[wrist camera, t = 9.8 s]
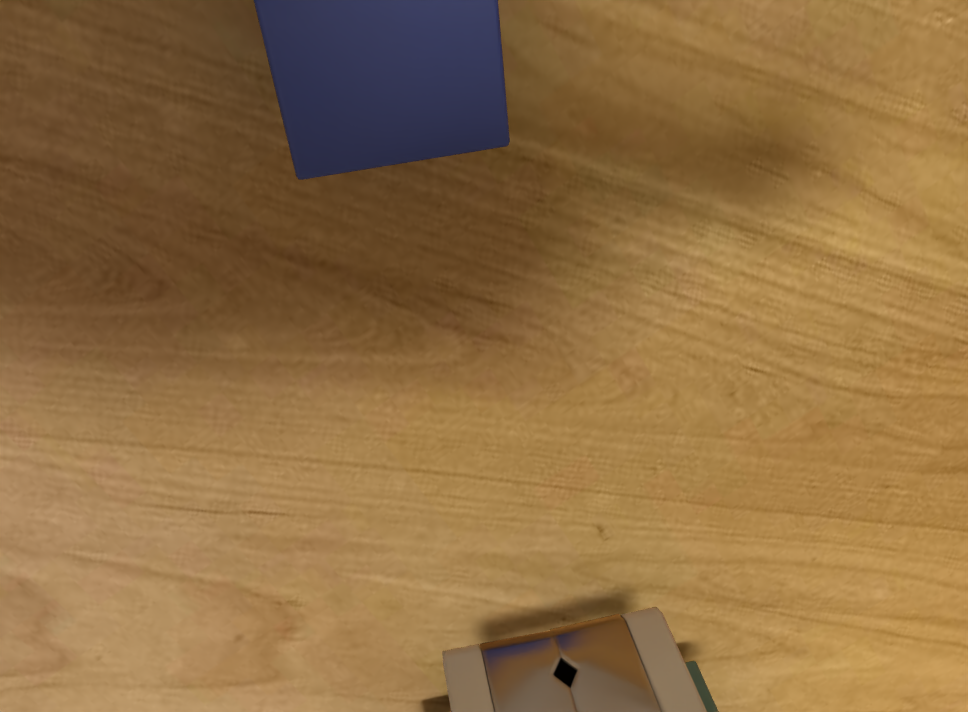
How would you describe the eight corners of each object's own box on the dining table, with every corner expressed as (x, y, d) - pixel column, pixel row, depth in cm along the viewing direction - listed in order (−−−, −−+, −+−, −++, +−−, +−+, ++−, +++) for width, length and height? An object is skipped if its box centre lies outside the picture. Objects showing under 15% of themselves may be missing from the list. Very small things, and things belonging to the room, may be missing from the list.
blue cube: (298, 114, 20) (297, 182, 17) (251, -88, 18) (238, -59, 14) (475, 86, 21) (511, 146, 17) (453, -115, 18) (490, -94, 15)
